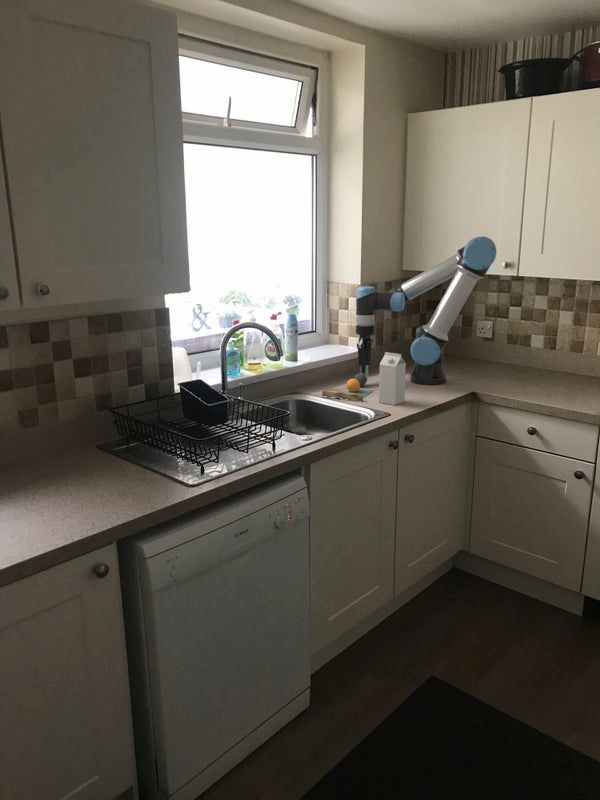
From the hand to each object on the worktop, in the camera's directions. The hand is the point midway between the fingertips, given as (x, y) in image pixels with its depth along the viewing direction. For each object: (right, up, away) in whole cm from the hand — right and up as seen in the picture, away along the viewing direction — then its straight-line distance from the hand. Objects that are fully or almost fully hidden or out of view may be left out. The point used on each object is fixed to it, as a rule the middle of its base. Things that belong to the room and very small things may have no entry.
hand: (364, 380), depth 276 cm
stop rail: (-11, -8, -21) cm, 25 cm away
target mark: (-7, -6, -13) cm, 16 cm away
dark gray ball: (-2, 0, -3) cm, 4 cm away
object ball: (-6, -3, -12) cm, 14 cm away
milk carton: (+8, -9, -26) cm, 29 cm away
